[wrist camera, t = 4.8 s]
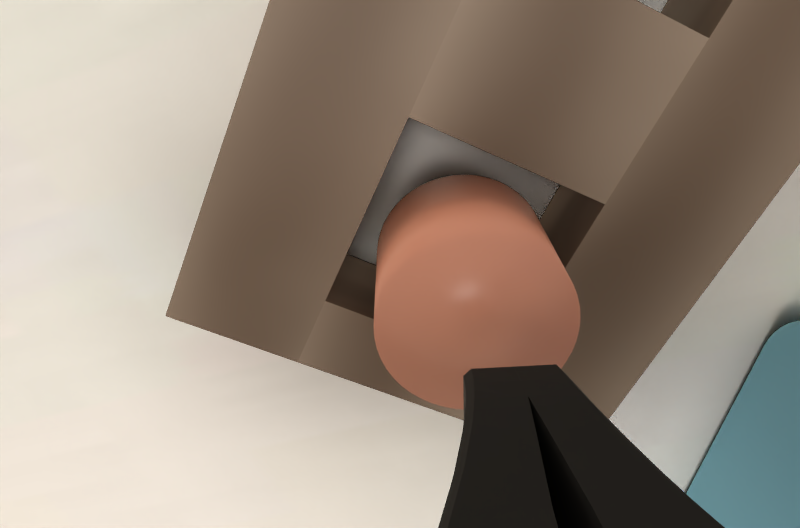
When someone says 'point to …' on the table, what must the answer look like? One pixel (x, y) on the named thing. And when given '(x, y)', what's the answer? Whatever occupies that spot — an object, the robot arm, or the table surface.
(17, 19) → the table surface
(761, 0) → the brown wooden tray
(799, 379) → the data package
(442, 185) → the terracotta button
